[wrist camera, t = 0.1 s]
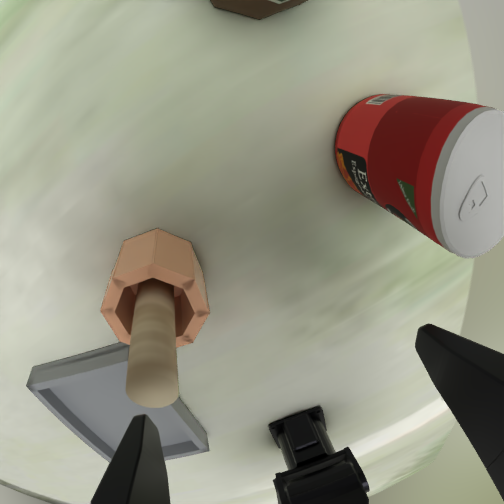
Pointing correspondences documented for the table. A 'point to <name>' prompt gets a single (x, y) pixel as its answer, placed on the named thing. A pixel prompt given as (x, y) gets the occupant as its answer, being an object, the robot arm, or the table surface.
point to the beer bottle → (256, 6)
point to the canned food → (429, 166)
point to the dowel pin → (153, 347)
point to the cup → (162, 268)
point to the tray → (109, 403)
